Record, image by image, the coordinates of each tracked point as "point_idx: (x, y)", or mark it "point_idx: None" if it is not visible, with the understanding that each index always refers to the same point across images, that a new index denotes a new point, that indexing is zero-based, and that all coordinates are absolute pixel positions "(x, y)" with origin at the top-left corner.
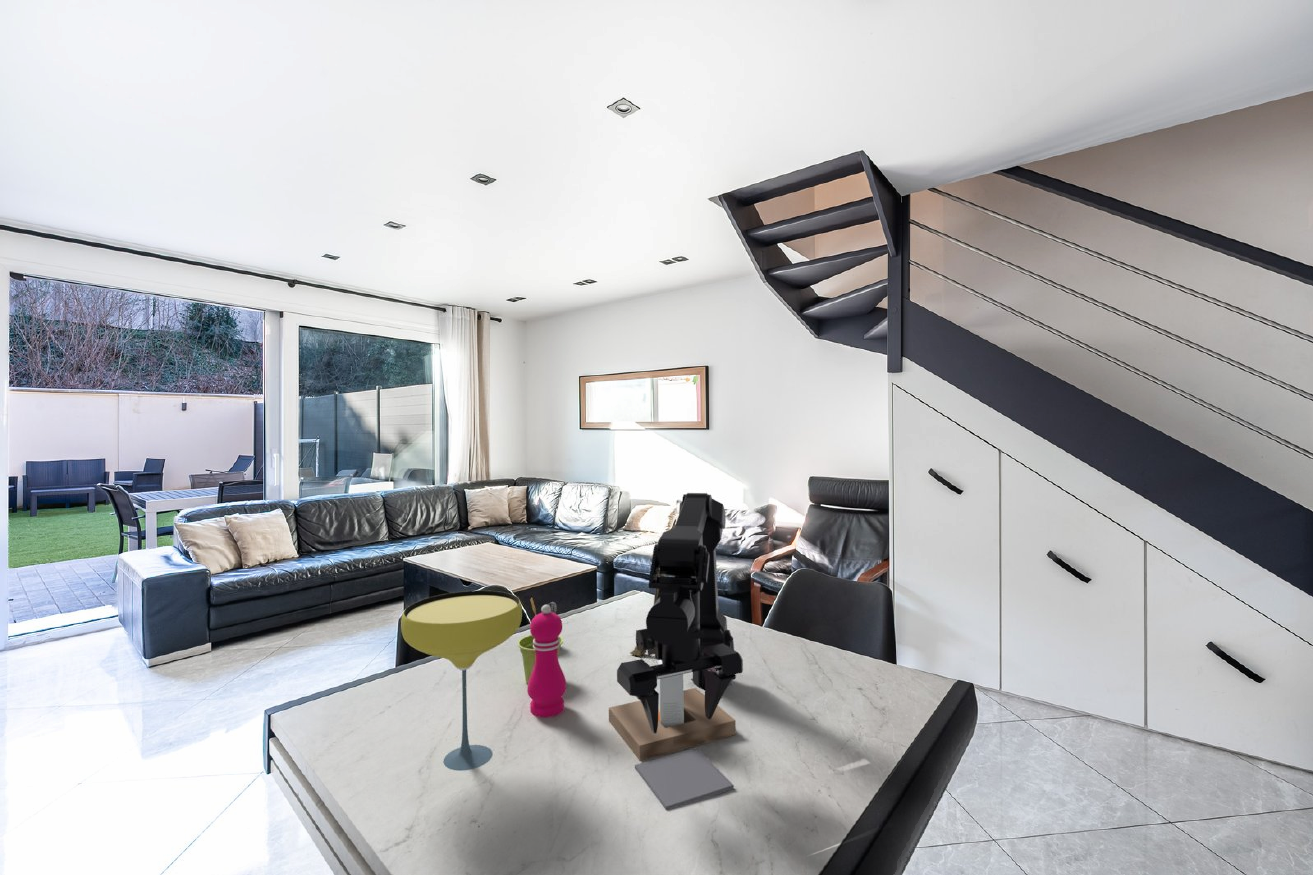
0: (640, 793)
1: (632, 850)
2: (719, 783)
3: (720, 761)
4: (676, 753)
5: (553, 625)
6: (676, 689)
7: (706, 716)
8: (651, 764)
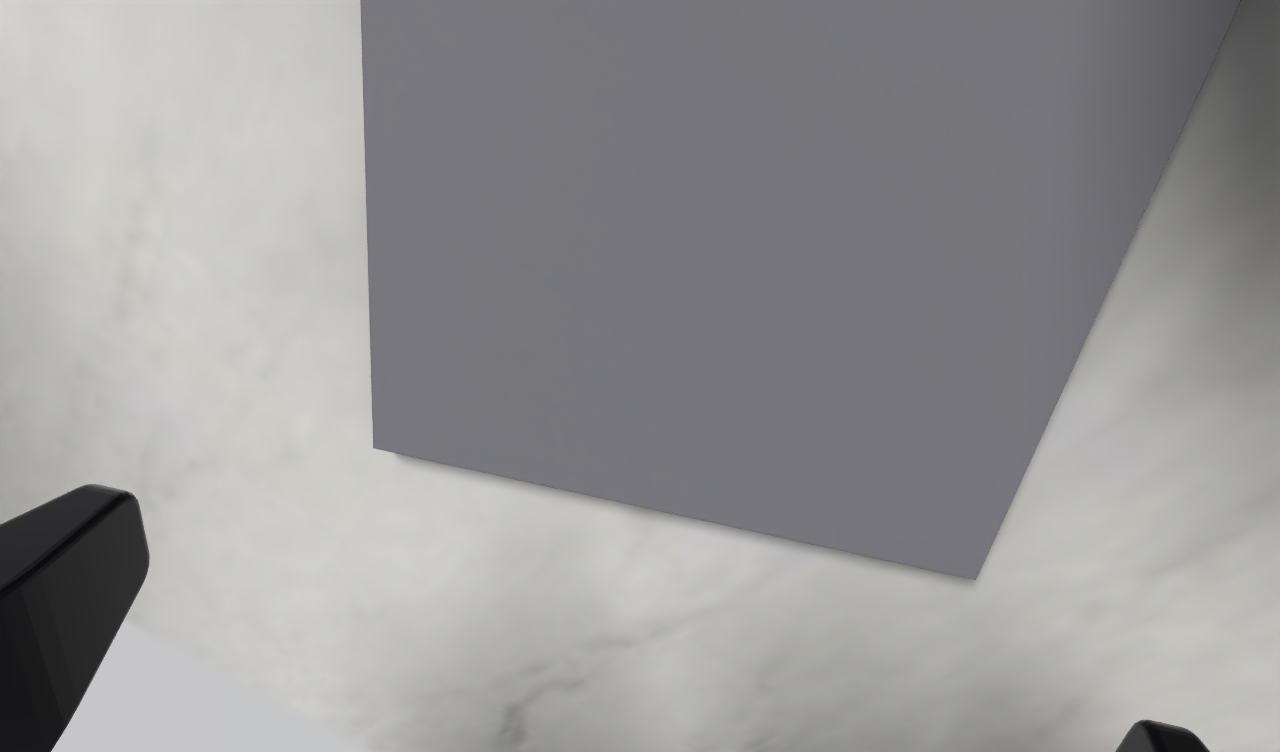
0: (287, 157)
1: None
2: (899, 511)
3: (1270, 237)
4: None
5: None
6: None
7: (1131, 750)
8: None
